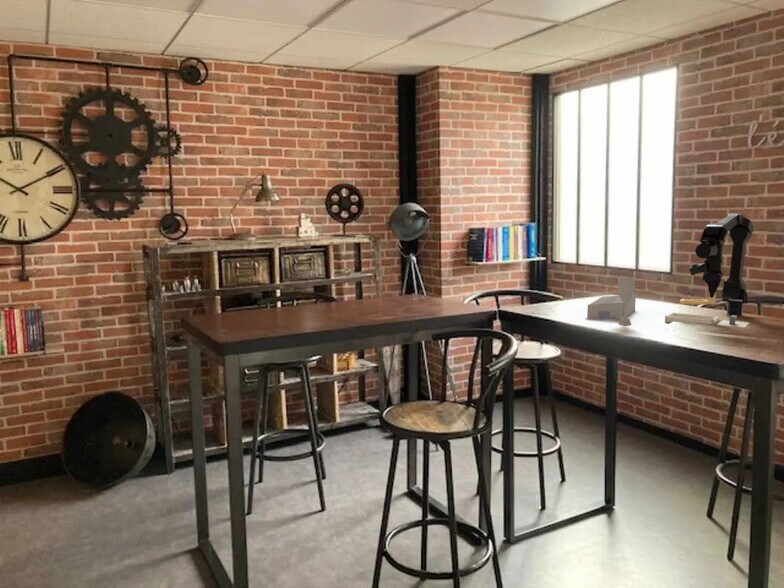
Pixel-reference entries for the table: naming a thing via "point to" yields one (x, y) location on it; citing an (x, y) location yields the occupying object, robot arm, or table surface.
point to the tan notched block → (699, 301)
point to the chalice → (625, 296)
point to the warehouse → (610, 308)
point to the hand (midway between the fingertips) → (711, 297)
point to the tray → (691, 318)
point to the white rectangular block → (733, 322)
